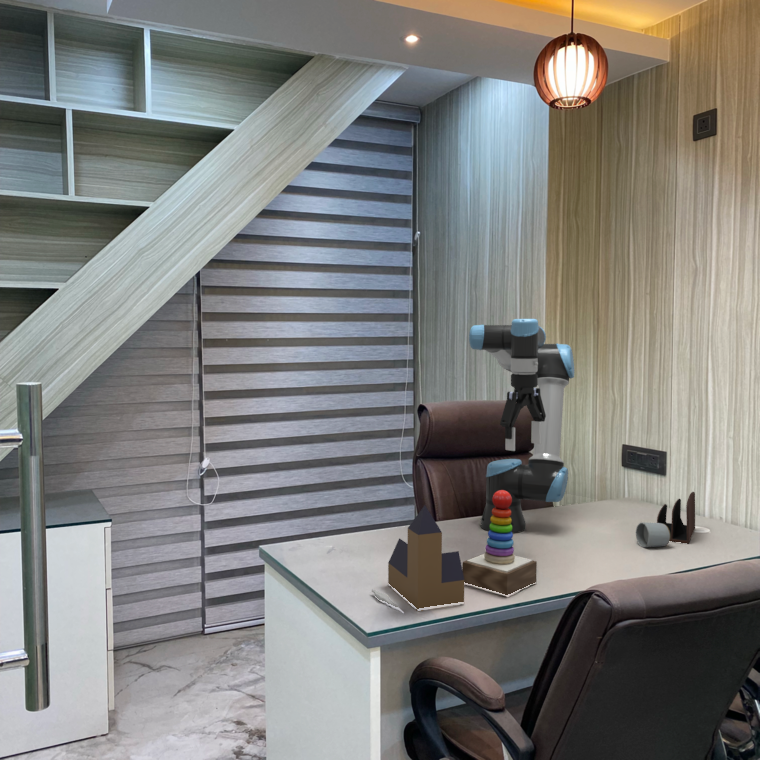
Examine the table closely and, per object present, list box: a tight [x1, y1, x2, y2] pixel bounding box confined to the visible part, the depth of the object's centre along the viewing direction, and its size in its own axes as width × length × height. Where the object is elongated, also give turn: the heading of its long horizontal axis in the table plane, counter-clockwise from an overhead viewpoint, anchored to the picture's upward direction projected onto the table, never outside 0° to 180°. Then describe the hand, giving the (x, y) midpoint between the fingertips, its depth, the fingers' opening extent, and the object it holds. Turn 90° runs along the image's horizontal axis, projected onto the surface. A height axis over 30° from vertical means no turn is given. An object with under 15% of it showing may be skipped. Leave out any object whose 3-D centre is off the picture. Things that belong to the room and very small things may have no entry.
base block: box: [461, 552, 538, 595], centre depth 189 cm, size 14×14×6 cm
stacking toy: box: [483, 490, 516, 564], centre depth 188 cm, size 8×8×19 cm
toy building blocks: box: [387, 505, 465, 609], centre depth 181 cm, size 12×19×25 cm, turn 21°
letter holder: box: [656, 491, 696, 545], centre depth 236 cm, size 10×20×14 cm, turn 151°
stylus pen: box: [371, 588, 399, 607], centre depth 175 cm, size 15×3×2 cm, turn 32°
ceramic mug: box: [635, 521, 670, 549], centre depth 225 cm, size 11×8×8 cm
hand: (523, 446), depth 205 cm, fingers open, 13 cm apart
